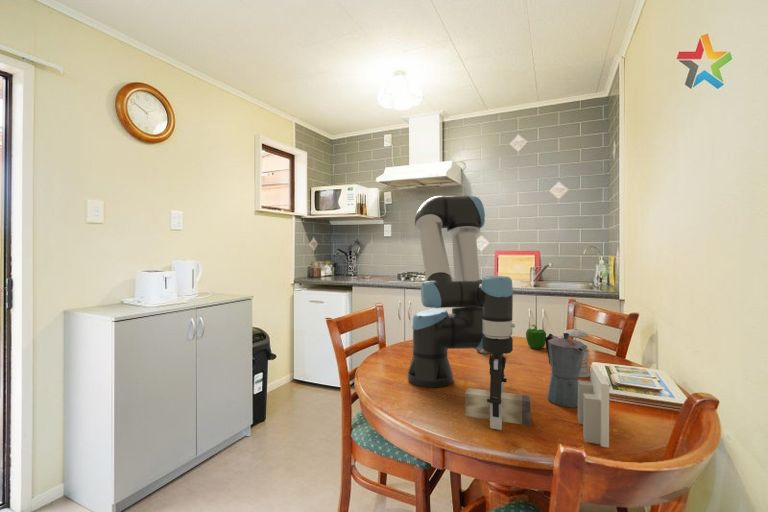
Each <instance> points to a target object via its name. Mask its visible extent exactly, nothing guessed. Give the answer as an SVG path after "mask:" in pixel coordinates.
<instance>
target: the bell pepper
mask: <svg viewBox="0 0 768 512" xmlns="http://www.w3.org/2000/svg"><path fill="white" fill-rule="evenodd" d="M531 326H532V327H533V328H527V329H526V332H525V337H526V342H527V345H528V346H529V348H531V349H533V350H535V349H536V350H537V349H539V350H540V349H544V347H545V346H546V340H545V339H546V337H547V333H546V330H544V329H538V327H537V325H536V324H533V323H532V324H531Z"/></svg>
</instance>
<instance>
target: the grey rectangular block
mask: <svg viewBox="0 0 768 512" xmlns="http://www.w3.org/2000/svg"><path fill="white" fill-rule="evenodd" d="M464 397H465V398H464V399H465V400H464V401H465V402H464V403H465V405H464V407H465V413H464V414H465V417H471V418H477V419H478V418H479V419H485V420H490V403H489V402H487V399H490V389H489V390H488V389H486V390H485V389H480V388H471V387H467V388H466V391H465V394H464ZM493 398H496V397H493ZM501 400H502V423H503V422H504V423H511V424H518V425H524V426H531V425H532V424H531V418H532V417H531V415H532V414H531V412H532V411H531V395H527V394H519V393H512V392H511V393H510V392H505V391H504V392H501Z"/></svg>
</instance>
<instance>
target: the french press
mask: <svg viewBox="0 0 768 512" xmlns="http://www.w3.org/2000/svg"><path fill="white" fill-rule="evenodd" d="M579 305H580V304H579V302H577V301H574V302H573V303H572V306H574V307H575V323H574V324H575V328H573V329H566V330H564V331H563V332H562V333H568V334H569V338H570V337H571V338H575V339H574V340H577V338H582V339H584V338H588V337H589V333H587V332H586V331H585V330H582V329H577V306H579ZM558 338H564V335H563V336H562V335H561V336H560V337H559V336H558ZM584 345H585V350H584V355H583V361H582V367H581V370H580V371H579V377H578V378H588V377H589V378H590V370H589V350H588V349H587V348H588V345H586V344H584Z"/></svg>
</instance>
